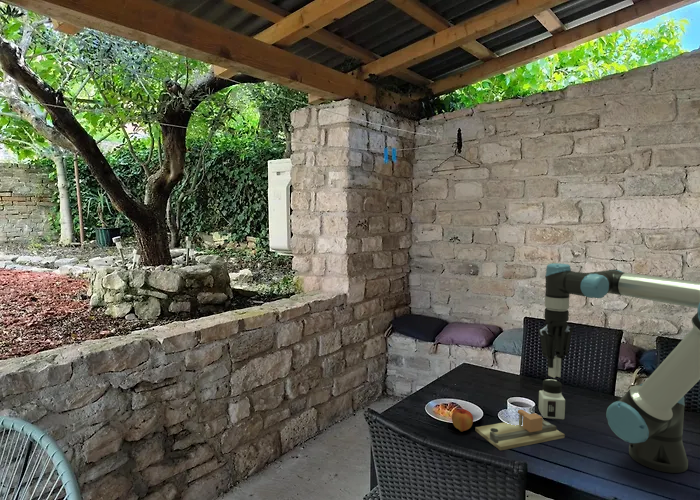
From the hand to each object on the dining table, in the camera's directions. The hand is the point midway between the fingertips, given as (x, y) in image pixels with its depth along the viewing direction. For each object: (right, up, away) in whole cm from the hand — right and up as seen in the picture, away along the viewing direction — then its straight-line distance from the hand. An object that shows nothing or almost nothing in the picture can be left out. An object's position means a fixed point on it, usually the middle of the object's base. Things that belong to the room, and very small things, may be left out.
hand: (554, 376), depth 155 cm
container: (+6, -19, +16) cm, 26 cm away
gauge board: (-12, -20, +1) cm, 24 cm away
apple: (-31, -20, +4) cm, 37 cm away
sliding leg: (-9, -19, +1) cm, 21 cm away
